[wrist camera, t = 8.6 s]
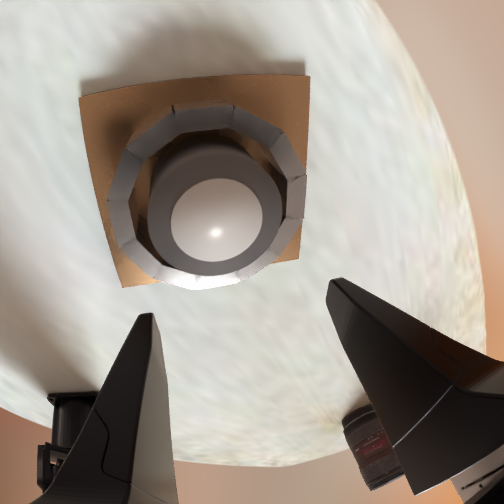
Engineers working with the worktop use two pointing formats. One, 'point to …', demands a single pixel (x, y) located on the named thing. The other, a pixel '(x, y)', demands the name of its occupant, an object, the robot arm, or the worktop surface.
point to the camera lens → (371, 448)
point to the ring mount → (183, 126)
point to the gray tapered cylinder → (211, 206)
